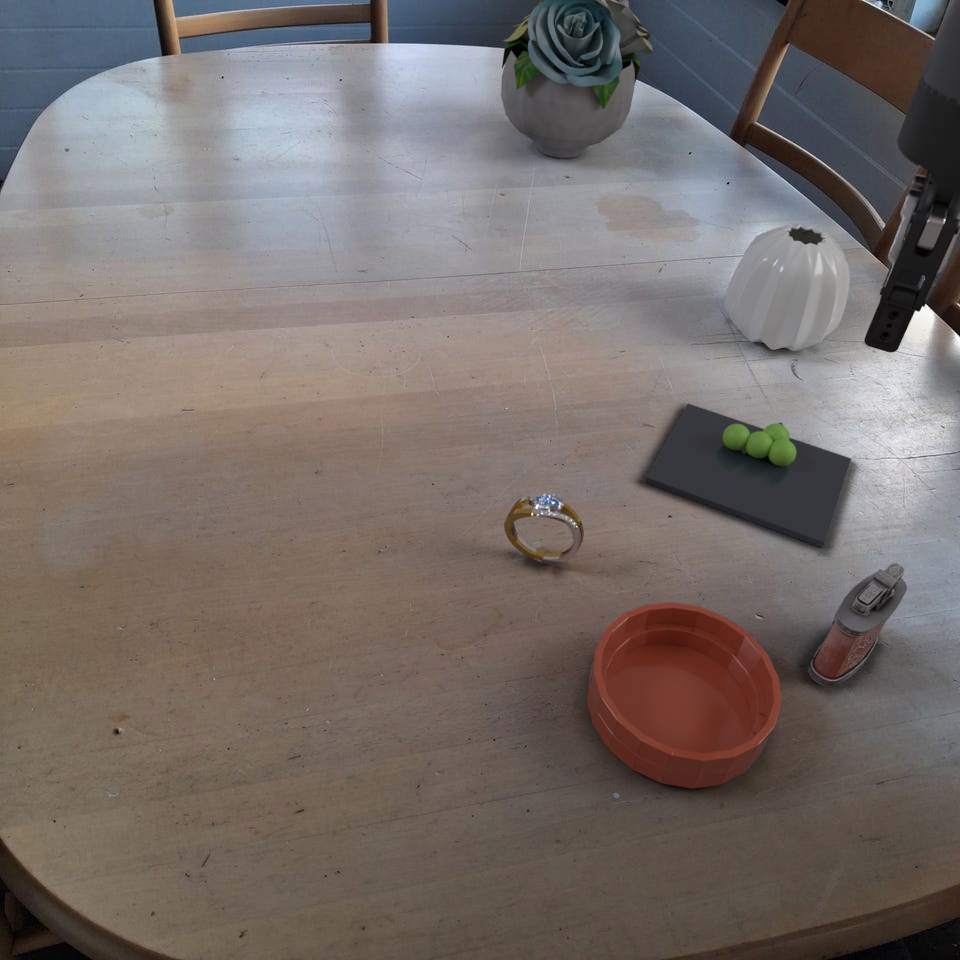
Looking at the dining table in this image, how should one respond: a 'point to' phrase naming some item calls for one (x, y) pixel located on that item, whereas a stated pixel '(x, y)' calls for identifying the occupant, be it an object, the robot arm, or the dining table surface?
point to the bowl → (682, 694)
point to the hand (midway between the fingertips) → (889, 317)
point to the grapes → (762, 442)
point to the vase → (789, 288)
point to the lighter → (858, 626)
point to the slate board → (751, 477)
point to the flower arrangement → (572, 73)
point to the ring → (545, 508)
